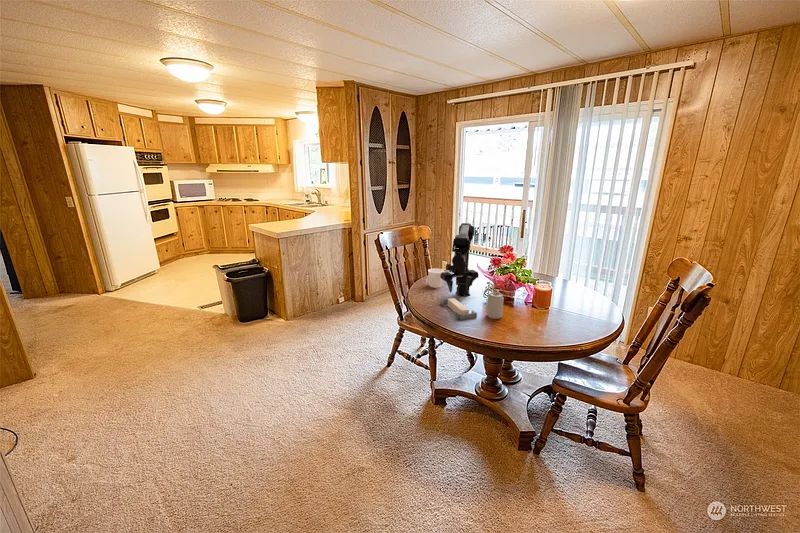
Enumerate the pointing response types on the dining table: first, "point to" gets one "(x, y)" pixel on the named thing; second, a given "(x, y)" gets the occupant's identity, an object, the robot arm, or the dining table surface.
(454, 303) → the beige wooden bar
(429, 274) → the cup
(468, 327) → the dining table surface
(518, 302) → the dining table surface
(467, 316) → the end caps
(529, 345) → the dining table surface
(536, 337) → the dining table surface
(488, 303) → the can
